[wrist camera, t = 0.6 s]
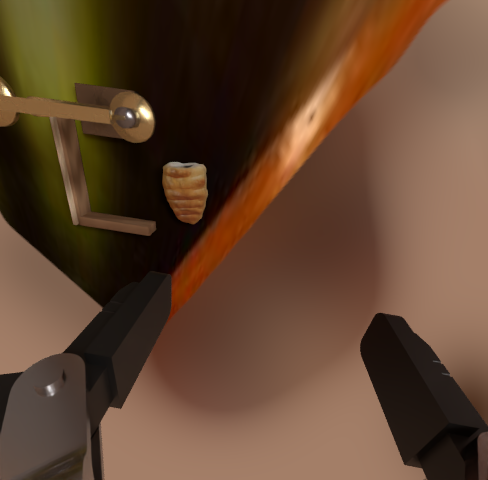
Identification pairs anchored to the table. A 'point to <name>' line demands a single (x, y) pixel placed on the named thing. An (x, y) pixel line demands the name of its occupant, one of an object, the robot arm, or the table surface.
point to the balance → (87, 111)
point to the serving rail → (77, 185)
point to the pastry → (185, 190)
